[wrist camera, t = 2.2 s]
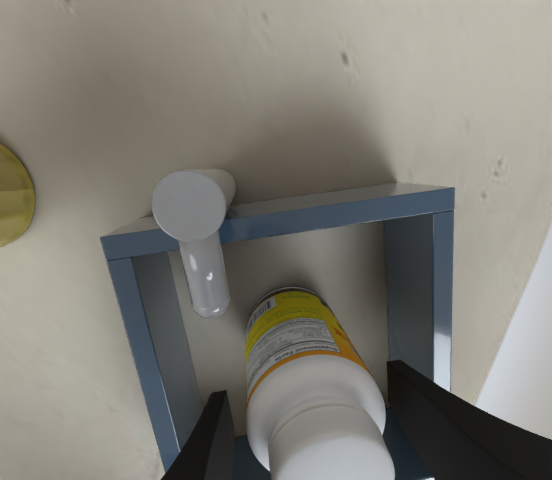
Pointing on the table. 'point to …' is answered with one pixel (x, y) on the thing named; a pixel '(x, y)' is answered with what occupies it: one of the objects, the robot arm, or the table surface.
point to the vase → (14, 197)
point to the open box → (215, 293)
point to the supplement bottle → (310, 394)
